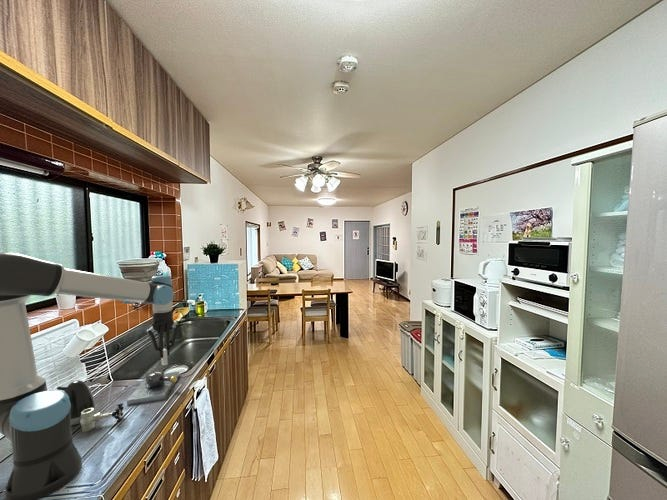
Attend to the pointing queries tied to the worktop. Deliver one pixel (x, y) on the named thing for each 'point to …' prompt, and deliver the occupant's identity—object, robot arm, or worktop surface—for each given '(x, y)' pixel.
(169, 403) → the worktop surface
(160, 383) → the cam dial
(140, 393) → the stand base
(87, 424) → the valve
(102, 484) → the worktop surface
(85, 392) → the pump dispenser
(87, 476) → the worktop surface
